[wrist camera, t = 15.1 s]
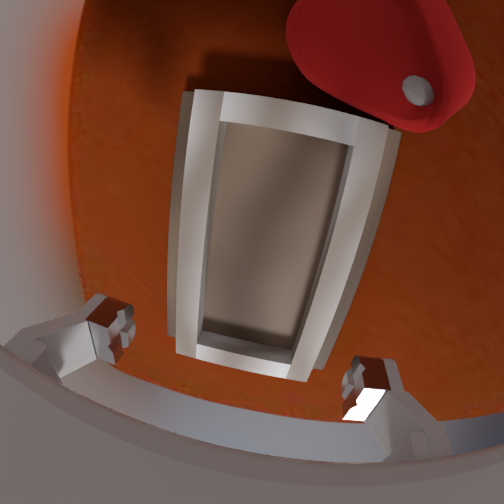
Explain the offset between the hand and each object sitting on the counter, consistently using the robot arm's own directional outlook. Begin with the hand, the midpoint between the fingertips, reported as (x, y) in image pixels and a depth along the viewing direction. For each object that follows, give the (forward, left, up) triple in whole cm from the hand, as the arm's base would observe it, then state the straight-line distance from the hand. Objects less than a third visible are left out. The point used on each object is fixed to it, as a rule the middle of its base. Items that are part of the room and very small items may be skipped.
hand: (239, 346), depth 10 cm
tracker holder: (-1, -17, -8) cm, 19 cm away
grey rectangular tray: (0, 0, -9) cm, 9 cm away
